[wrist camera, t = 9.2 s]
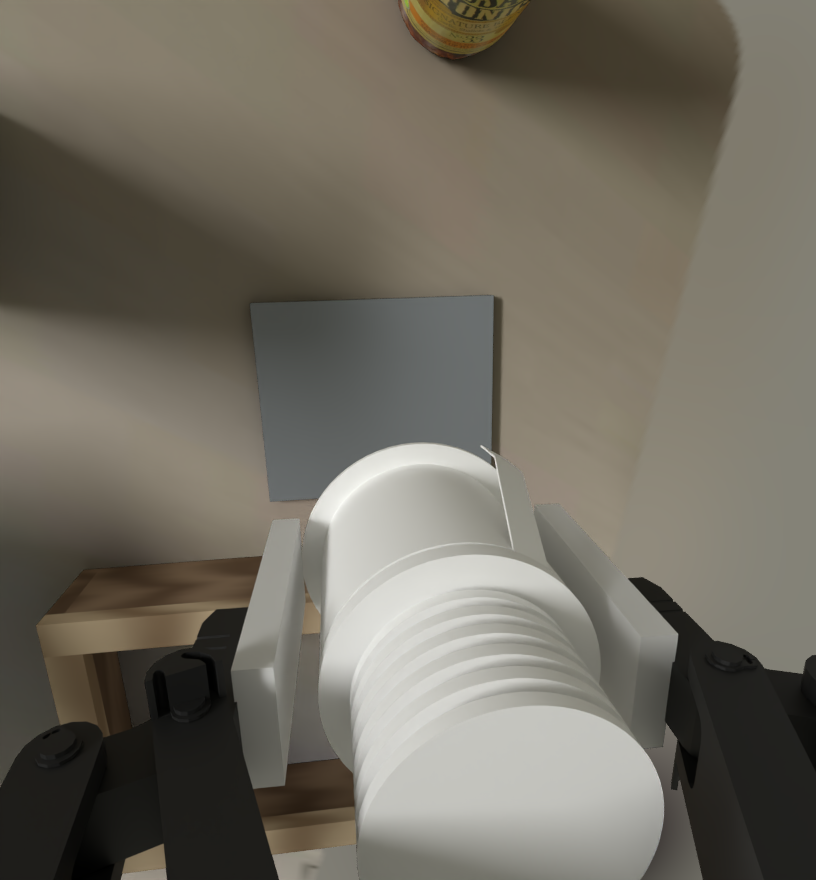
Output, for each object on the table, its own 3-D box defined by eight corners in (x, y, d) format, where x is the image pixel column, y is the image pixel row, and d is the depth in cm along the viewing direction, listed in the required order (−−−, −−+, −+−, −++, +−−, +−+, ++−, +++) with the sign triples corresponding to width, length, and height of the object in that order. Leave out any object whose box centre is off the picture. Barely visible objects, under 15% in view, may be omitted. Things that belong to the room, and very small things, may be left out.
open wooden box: (130, 793, 42) (97, 876, 36) (83, 569, 36) (35, 625, 31) (459, 756, 44) (476, 828, 38) (458, 541, 39) (478, 588, 33)
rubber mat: (271, 498, 36) (270, 501, 36) (251, 303, 33) (249, 303, 32) (488, 483, 38) (490, 486, 37) (491, 294, 34) (493, 295, 34)
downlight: (445, 690, 19) (558, 1080, 10) (254, 608, 18) (164, 978, 8) (574, 491, 18) (848, 712, 9) (382, 383, 17) (455, 506, 7)
